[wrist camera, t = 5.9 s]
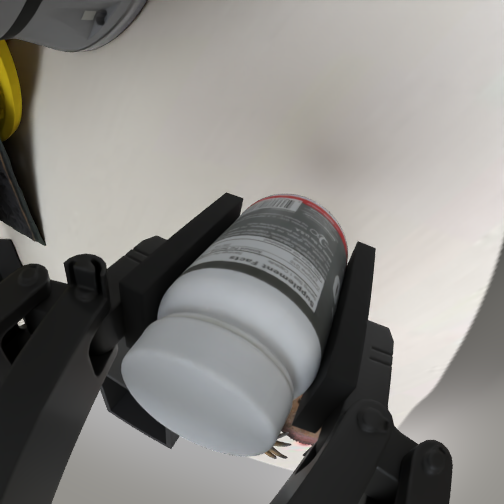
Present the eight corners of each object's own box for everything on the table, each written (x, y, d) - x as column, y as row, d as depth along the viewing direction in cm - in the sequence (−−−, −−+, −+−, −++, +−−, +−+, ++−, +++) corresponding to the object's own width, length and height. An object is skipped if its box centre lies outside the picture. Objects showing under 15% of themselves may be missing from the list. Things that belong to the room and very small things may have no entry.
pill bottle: (312, 309, 15) (244, 477, 8) (224, 256, 15) (106, 394, 8) (372, 232, 12) (338, 432, 5) (266, 168, 12) (113, 298, 5)
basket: (122, 330, 40) (91, 363, 35) (197, 371, 38) (170, 411, 32) (130, 382, 48) (107, 410, 42) (192, 416, 46) (171, 449, 40)
